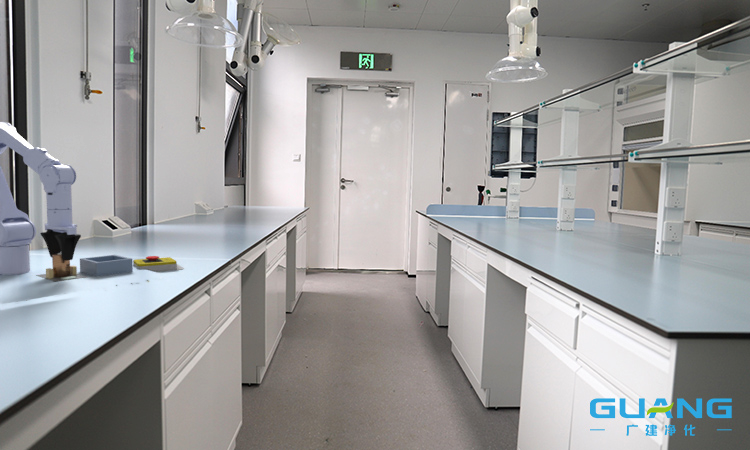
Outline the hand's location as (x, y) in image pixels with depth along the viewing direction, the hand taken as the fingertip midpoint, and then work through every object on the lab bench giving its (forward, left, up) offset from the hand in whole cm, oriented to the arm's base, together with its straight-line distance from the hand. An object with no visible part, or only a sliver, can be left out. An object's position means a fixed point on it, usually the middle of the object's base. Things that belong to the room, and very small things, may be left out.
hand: (61, 258), depth 129 cm
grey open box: (+2, +11, -6) cm, 13 cm away
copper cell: (0, 0, -5) cm, 5 cm away
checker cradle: (0, 0, -6) cm, 6 cm away
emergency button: (+2, +26, -7) cm, 27 cm away
